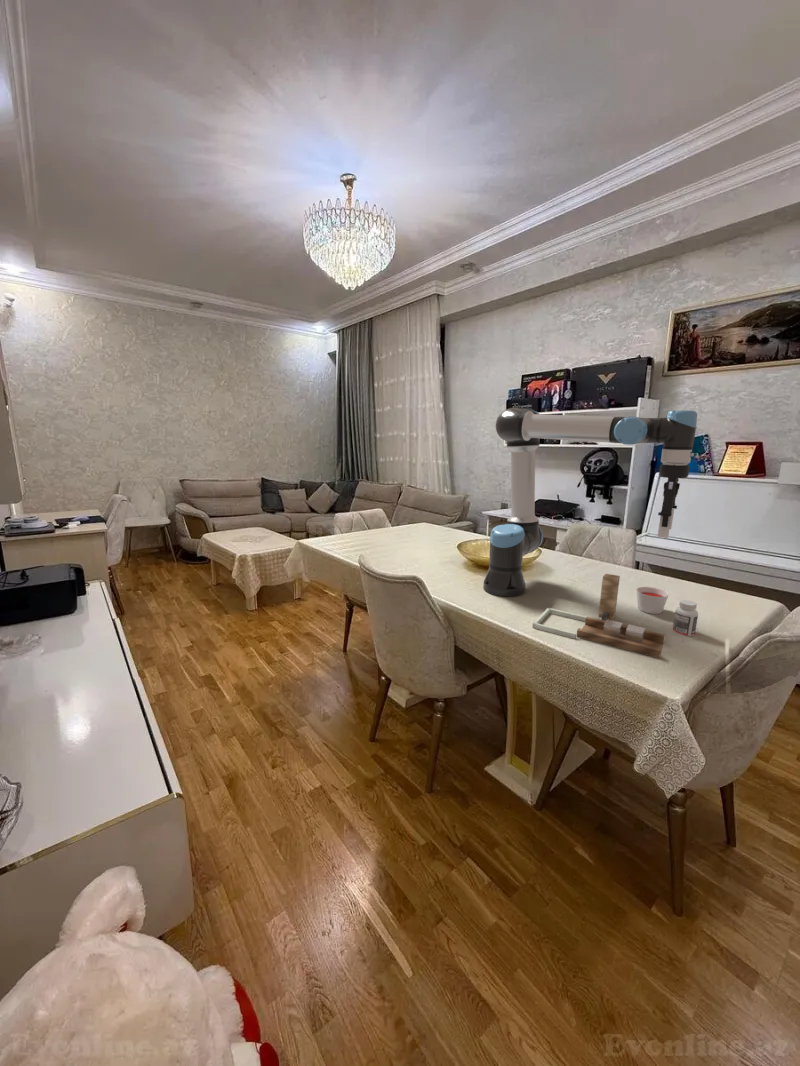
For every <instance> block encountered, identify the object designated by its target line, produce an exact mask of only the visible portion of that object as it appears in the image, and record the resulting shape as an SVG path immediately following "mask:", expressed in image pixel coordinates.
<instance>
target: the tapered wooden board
mask: <svg viewBox="0 0 800 1066" xmlns="http://www.w3.org/2000/svg"><path fill="white" fill-rule="evenodd" d="M620 577H621V576H620V575H616V574H611V573H604V575H603V576H602V582H601V591H600V599H599V606H598V607H599V608H598V616H597V617H598V618H599V619H600V618H601V620H604V621H606V620H612V621H614V618H615V617H616V610H617V603H618V602H617V601H618V593H619V587H620V586H619V585H620Z"/></svg>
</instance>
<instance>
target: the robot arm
mask: <svg viewBox="0 0 800 1066" xmlns="http://www.w3.org/2000/svg"><path fill="white" fill-rule="evenodd" d="M697 419H698V413H697V412H696V411H695V410H691V409H690V410H689V409H688V410H685V409H684V410H670V411H668V412H667V416H666V417H639V416H608V415H606V416H603V415H599V416H598V415H575V414H574V415H571V414H568V415H567V414H565V415H564V414H540V413H539V412H538V411H535V410H534V409H531V408H521V407H518V408H517V407H509V408H507V409H505V410H503V411H502V412H501V413H500V414H499V415H498V417H497V418H496V422H495V432H496V434H497V435H498V436H499V437H500V439H502V440H503V441H505V442H506V448H507V449H508V450H509V451H510V497H511V498H510V499H511V500H510V501H511V503H510V510H511V511H510V512H511V513H510V516H509V517H508V518H507V520H506V521H507V522H506V523H505V524H499V525H496V526H494V527H493V528H492V529H491V531H490V537H489V559H488V560H489V564H488V565H489V566H488V570H487V571H486V574H485V578H484V579H483V585H482V586H483V590H484V591H485V592H486V593H489V594H492V595H494V596H498V597H499V596H501V597H517V596H521V595H524V594H525V593H526V587H527V585H526V581H525V578H524V575H523V574H524V573H523V570H522V569H523V560H524V559H523V557H524V556H526V555H528V554H531V553H533V552H535V551H537V549H538V548H539V547H540V546H541V544H542V543H543V539H544V533H543V530H542V528H541V527H540V523H539V521H540V519H539V518H538V517H537V516H536V515H535V514H536V513H535V512H536V511H535V507H536V506H535V505H536V503H535V501H536V488H535V487H536V451H537V449H538V448H539V447H540V444H541V443H540V442H541V441H540V439H545V440H560V441H561V440H562V441H575V442H576V441H578V442H593V443H608V444H609V443H612V444H620V445H621V444H623V445H626V446H632V445H636V444H663V445H662V446H663V447H662V450H661V457H660V462H661V465H660V466H659V472H658V475H659V477H662V478H667V481H666V482H664V484H663V493H662V496H663V500H662V505H661V506H662V507H661V511H659V512H657V513H658V514H657V515H658V516H660V517H659V518H660V519H659V524H658V532H657V537H658V538H665V539H668V538H669V535H670V534H669V533H670V530H672V528H673V527H672V526H673V520H674V513H675V510H677V508H678V505H676V498H677V495H678V494H679V493H678V492H679V490H680V486H681V483H680V482H679V480H680V479H687V478H689V472H690V467H691V466H690V465H689V464H690V463H691V461H692V460H691V459H692V458H691V457H694V456H695V453H694V452H693V447H694V444H695V436H696V430H697V423H698V422H697Z"/></svg>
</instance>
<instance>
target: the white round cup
mask: <svg viewBox="0 0 800 1066" xmlns="http://www.w3.org/2000/svg"><path fill="white" fill-rule="evenodd" d="M669 595H670V594H669V592H668V591H666V590H664V589H661V588H659V587H658V588H657V587H651V586H639V587H637V588H636V600H637V608H638V610H640V611H641V612H644V613H647V614H650V615H659V614H662V613H663V610H664V608H665V606H666V603H667V600H668V598H669Z"/></svg>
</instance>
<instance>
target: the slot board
mask: <svg viewBox="0 0 800 1066" xmlns="http://www.w3.org/2000/svg"><path fill="white" fill-rule="evenodd" d="M605 622H606V621H605V620H602V619H600V618H596V617H595V618H594V617H590V616H586V620H585V621H584V625H583V627H582V628H581V627H579V628H578V629H576V638H580V639H584V640H588V641H591V642H595V643H600V644H604V645H606V646H611V647H615V648H619V649H623V650H625V651H626V650H627V651H631V652H633V653H636V654H637V653H638V654H642V655H645V656H650V657H653V658H656V659H660V656H661V653H662V651H663V646H664V645H663V644H664V641H665V634H664V633H660V632H656V631H655V632H654V631H651V630H646V629H645V633H644V640H643V644H640V643H636V642H632V641H628V640H625V635H626V629H627V627H628V625H625V624H622V632H621V637H620V638H616V637H612V636H608V635H604V634H603V629H604V624H605Z"/></svg>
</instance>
